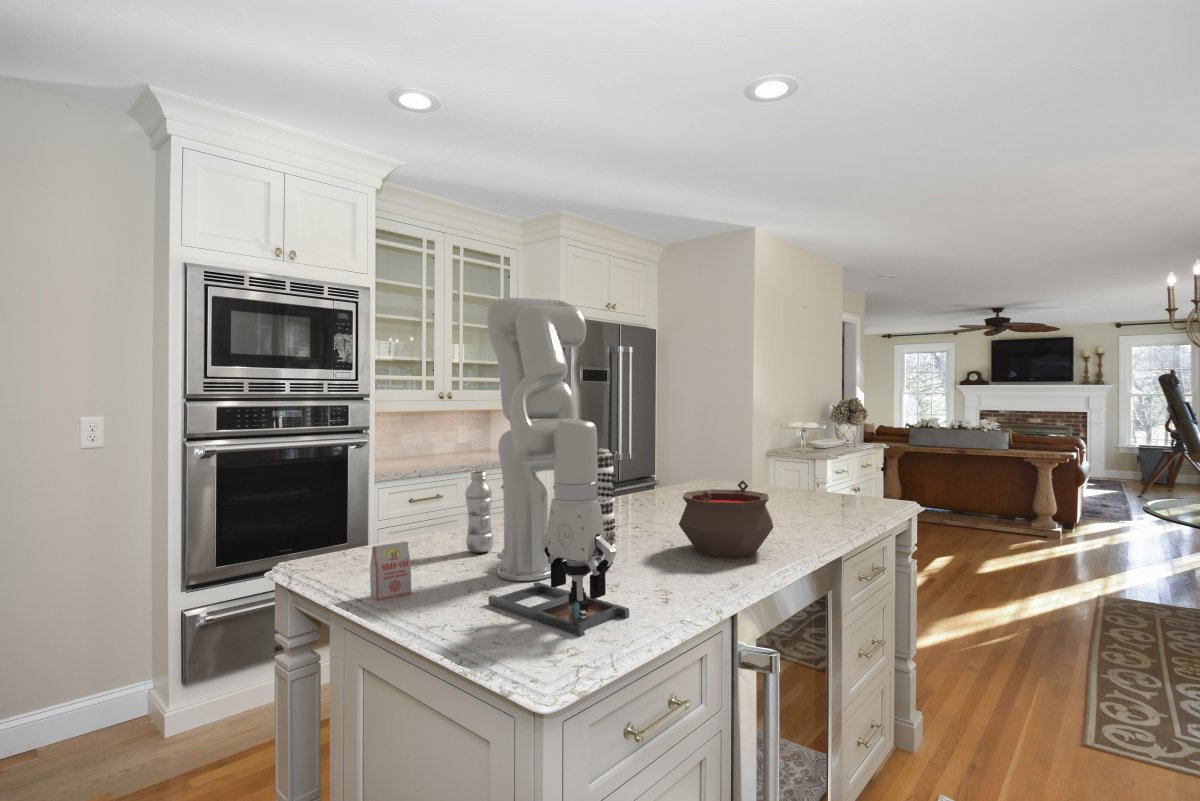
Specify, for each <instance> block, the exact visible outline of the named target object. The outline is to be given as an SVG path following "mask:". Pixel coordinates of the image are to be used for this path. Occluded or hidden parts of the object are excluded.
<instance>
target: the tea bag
mask: <svg viewBox="0 0 1200 801" xmlns="http://www.w3.org/2000/svg"><path fill="white" fill-rule="evenodd" d="M411 565H412V562H411V557H410V550H409V542H408V541H402V542H401V541H400V542H394V543H389V544H388V543H387V544H382V545H374V546H372V550H371V557H370V565H369V572H370V573H369V575H370V581H369V582H370V584H369V585H370V597H371V598H373V599H374V600H375V601H378V602H379V601H381V600H382V601H383V600H387V599H388V600H389V599H392V598H397V597H401V596H407V595H411V594H412V566H411Z"/></svg>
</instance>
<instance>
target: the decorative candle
mask: <svg viewBox="0 0 1200 801" xmlns="http://www.w3.org/2000/svg"><path fill="white" fill-rule="evenodd" d="M613 456H614V454H612V453H611V451H610V449H608V448H602V447H599V448H598V447H597V473H598V501H600V505H601V510H602V517H603V525H604V540H605V541H607V542H608V543H609V544H610V545H611V546H612V547H613V548H614V549H616V544H615V543H616V538H615V537H616V532H615V531H614V530H615V528H616V525H614V524H615V523H616V519H615V512H614V502H615V501H616V499H615V498H614V497H616V494H615V493H614V491H616V488H615V487H614V486H613V484H614V483H616V481H617V480H616V479H614V478H616V475H617V474H616V473H615V472H614V466H613Z"/></svg>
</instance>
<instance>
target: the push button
mask: <svg viewBox="0 0 1200 801" xmlns="http://www.w3.org/2000/svg"><path fill="white" fill-rule="evenodd" d="M563 561H564V562H563ZM563 561H562V567H563V573H565V574H566V577H567V576H568V577H570V578H571V586H570V592H571V593H569V615H570V616H571V614H572V615H573V616H574V617H575V618H576V619H583V618H585V617H586V614H587V612H588V602H587V601H586V596H587V592H585V588H584V580H583V579H584V578H585V577H586V576H587V575H588V574H589V573H592V571H591V569H590V567H589V566H588V564H587V562H585V563H579V562H574V561H570V560H563Z"/></svg>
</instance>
